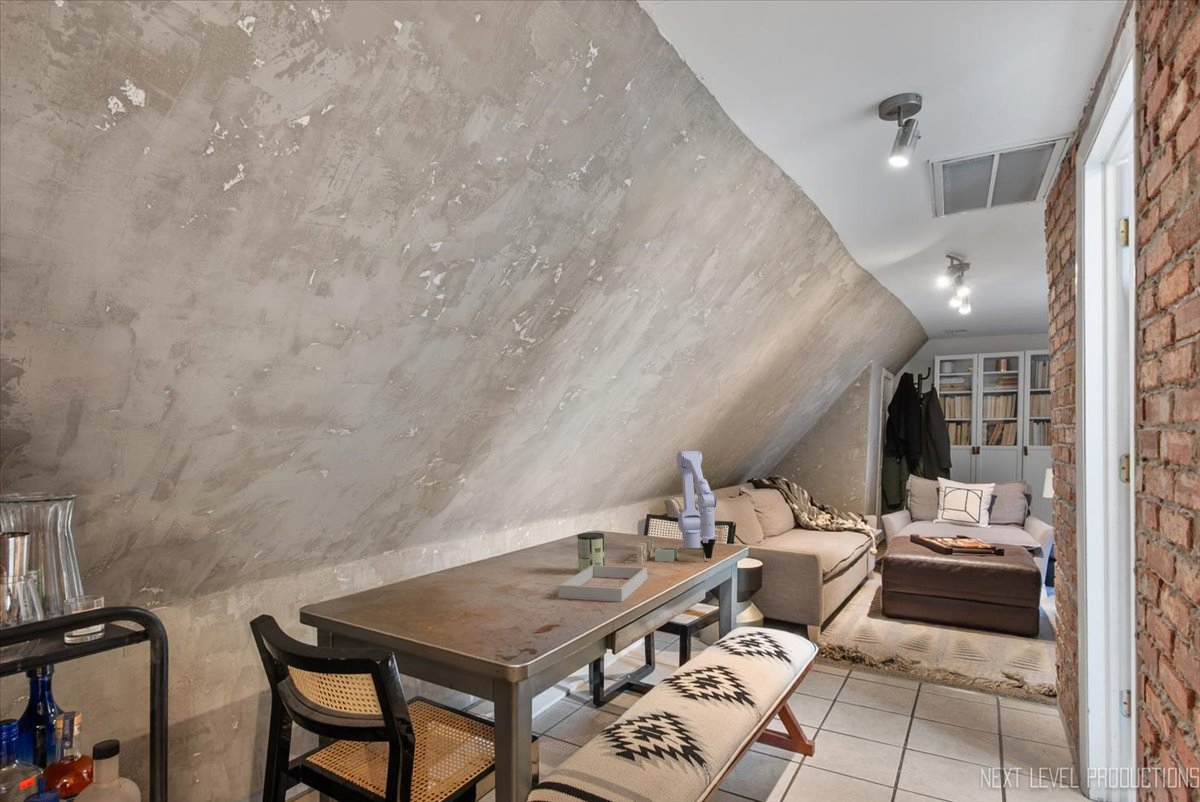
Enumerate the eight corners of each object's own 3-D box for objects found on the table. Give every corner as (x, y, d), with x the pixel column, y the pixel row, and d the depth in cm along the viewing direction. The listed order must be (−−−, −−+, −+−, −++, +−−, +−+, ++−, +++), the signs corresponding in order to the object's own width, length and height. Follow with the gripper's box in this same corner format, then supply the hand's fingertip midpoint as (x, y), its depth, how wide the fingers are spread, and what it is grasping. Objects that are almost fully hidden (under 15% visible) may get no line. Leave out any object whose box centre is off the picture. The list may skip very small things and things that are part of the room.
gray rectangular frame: (591, 576, 232) (591, 565, 232) (647, 579, 225) (647, 567, 225) (558, 597, 201) (558, 585, 202) (621, 601, 195) (621, 588, 195)
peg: (680, 559, 259) (679, 547, 259) (704, 560, 256) (704, 547, 256) (678, 561, 255) (678, 548, 255) (703, 562, 252) (702, 549, 252)
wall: (638, 554, 273) (637, 537, 273) (653, 554, 270) (653, 538, 271) (625, 563, 254) (624, 545, 254) (641, 564, 251) (641, 546, 252)
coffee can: (587, 568, 246) (586, 531, 247) (610, 570, 241) (609, 533, 242) (572, 573, 238) (571, 535, 238) (595, 576, 232) (594, 537, 233)
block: (660, 557, 264) (659, 546, 264) (677, 558, 262) (677, 547, 262) (655, 561, 256) (654, 550, 256) (673, 562, 253) (672, 550, 253)
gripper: (715, 526, 246) (716, 562, 245) (720, 521, 260) (721, 555, 259) (696, 526, 248) (698, 561, 247) (702, 521, 262) (703, 554, 261)
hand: (708, 558), depth 253 cm, fingers closed
